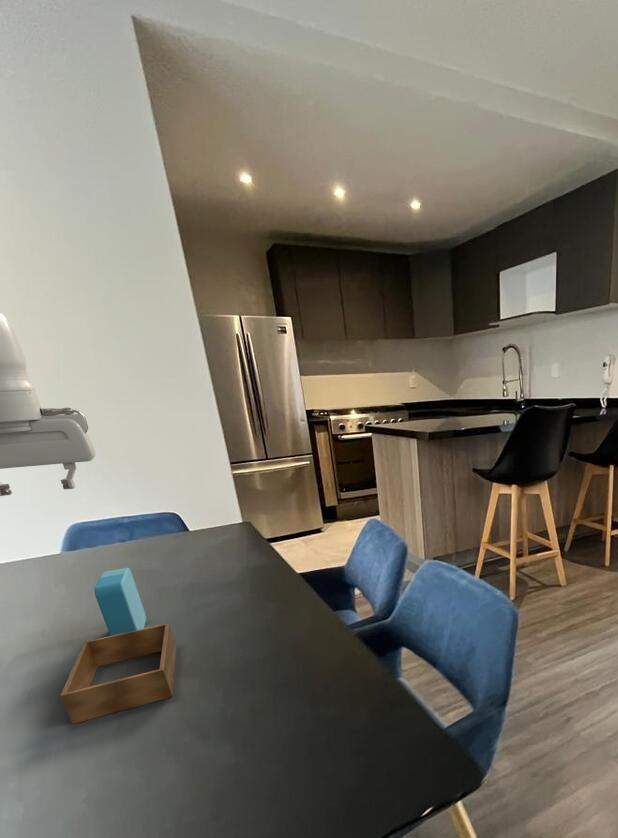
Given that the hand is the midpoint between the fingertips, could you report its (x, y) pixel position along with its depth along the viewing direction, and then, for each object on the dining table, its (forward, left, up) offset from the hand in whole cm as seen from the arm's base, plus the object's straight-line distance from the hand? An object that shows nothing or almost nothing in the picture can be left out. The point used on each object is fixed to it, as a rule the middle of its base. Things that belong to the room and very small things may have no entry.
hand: (38, 491), depth 88 cm
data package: (+7, -4, -29) cm, 30 cm away
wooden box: (+9, -25, -29) cm, 39 cm away
